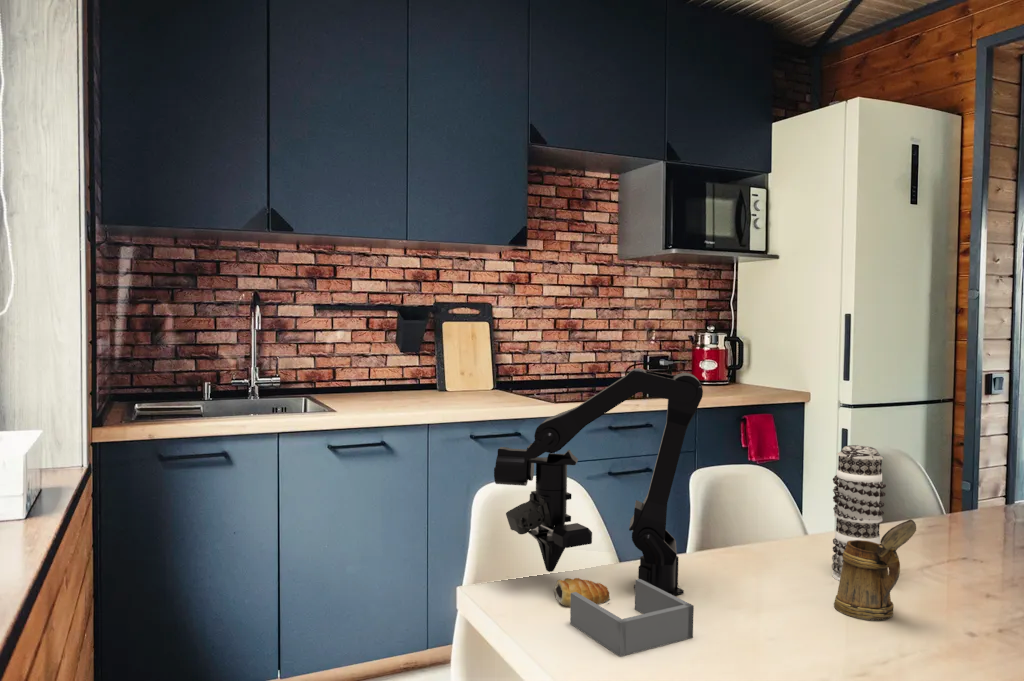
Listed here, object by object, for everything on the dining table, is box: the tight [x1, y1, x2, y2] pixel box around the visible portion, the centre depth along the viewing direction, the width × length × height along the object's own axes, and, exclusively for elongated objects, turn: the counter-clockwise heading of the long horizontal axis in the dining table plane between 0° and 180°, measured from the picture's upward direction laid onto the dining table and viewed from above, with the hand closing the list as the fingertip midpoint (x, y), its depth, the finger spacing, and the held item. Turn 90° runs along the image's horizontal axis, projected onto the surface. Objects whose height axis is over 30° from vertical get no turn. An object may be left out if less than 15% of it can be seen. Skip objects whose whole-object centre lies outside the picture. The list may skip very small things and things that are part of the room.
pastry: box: [553, 577, 610, 608], centre depth 132 cm, size 9×7×4 cm
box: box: [569, 578, 695, 657], centre depth 120 cm, size 14×13×5 cm
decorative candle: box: [831, 444, 887, 582], centre depth 145 cm, size 9×9×25 cm
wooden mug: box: [833, 519, 917, 621], centre depth 127 cm, size 9×14×18 cm, turn 20°
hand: (549, 571), depth 141 cm, fingers closed
